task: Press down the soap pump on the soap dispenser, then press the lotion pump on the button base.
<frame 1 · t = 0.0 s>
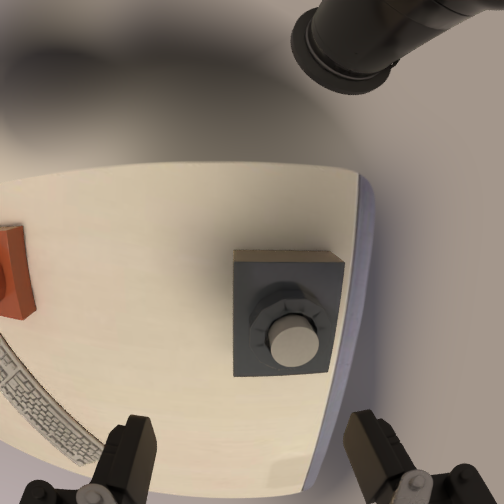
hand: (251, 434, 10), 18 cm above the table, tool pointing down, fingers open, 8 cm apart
soap dispenser: (279, 305, 27), on the table
button base: (2, 267, 24), on the table
soap pump: (292, 340, 21), point 7 cm above the table, slide at 0.1 cm
keyboard: (32, 396, 29), on the table
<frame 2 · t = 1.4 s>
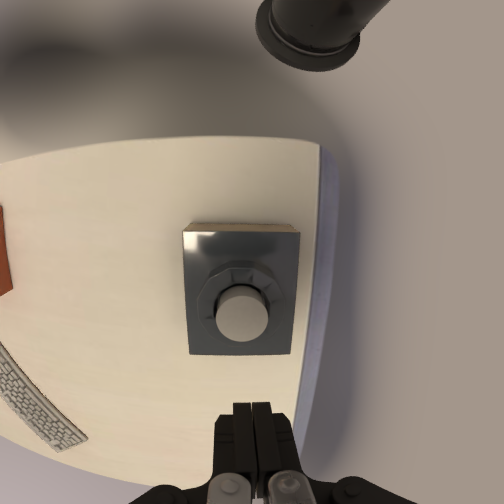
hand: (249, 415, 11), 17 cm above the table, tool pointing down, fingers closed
soap dispenser: (239, 282, 27), on the table
soap pump: (241, 313, 20), point 7 cm above the table, slide at 0.1 cm
keyboard: (11, 379, 29), on the table
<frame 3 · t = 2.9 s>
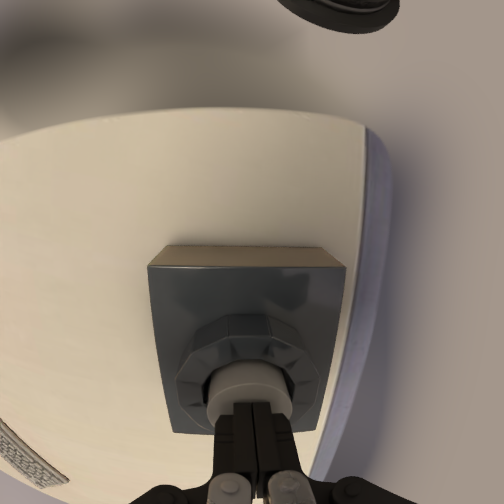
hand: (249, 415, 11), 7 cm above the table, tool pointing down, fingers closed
soap dispenser: (243, 332, 18), on the table
soap pump: (248, 398, 12), point 6 cm above the table, slide at -0.3 cm, touching gripper
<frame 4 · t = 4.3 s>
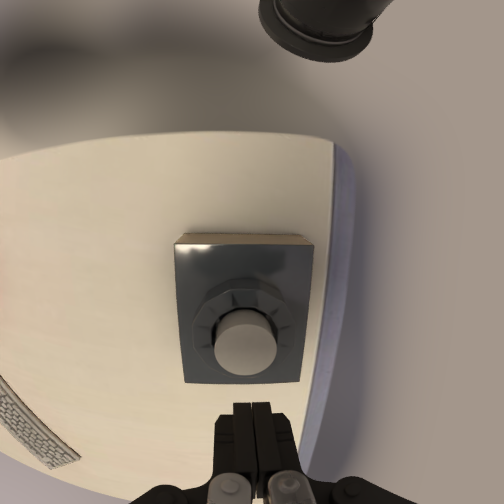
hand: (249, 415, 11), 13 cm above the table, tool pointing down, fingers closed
soap dispenser: (241, 300, 23), on the table
soap pump: (244, 342, 17), point 7 cm above the table, slide at 0.1 cm
keyboard: (0, 394, 25), on the table
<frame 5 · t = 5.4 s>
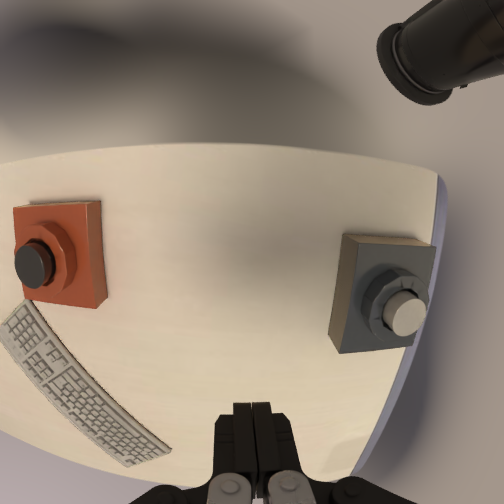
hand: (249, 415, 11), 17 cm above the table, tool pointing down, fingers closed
soap dispenser: (373, 286, 29), on the table
lotion pump: (34, 264, 20), point 6 cm above the table, slide at 0.1 cm
button base: (64, 249, 26), on the table
soap pump: (404, 313, 22), point 7 cm above the table, slide at 0.1 cm
keyboard: (80, 395, 31), on the table
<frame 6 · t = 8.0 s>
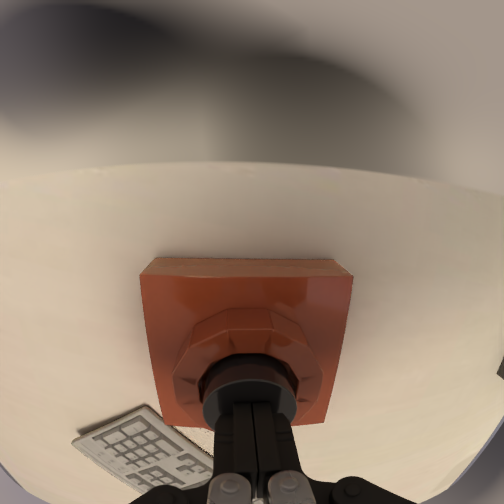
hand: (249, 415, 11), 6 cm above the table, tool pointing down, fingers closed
lotion pump: (248, 399, 12), point 5 cm above the table, slide at -0.1 cm, touching gripper
button base: (244, 338, 17), on the table
keyboard: (213, 493, 22), on the table
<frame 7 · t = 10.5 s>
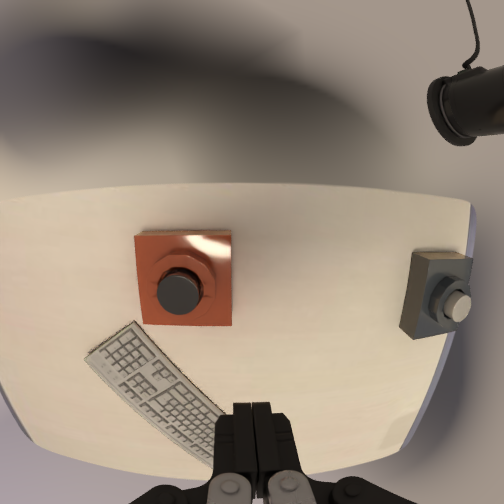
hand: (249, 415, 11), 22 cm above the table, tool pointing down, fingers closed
soap dispenser: (429, 289, 35), on the table
lotion pump: (179, 291, 27), point 6 cm above the table, slide at 0.1 cm
button base: (187, 274, 32), on the table
soap pump: (457, 306, 29), point 7 cm above the table, slide at 0.1 cm
keyboard: (179, 408, 37), on the table
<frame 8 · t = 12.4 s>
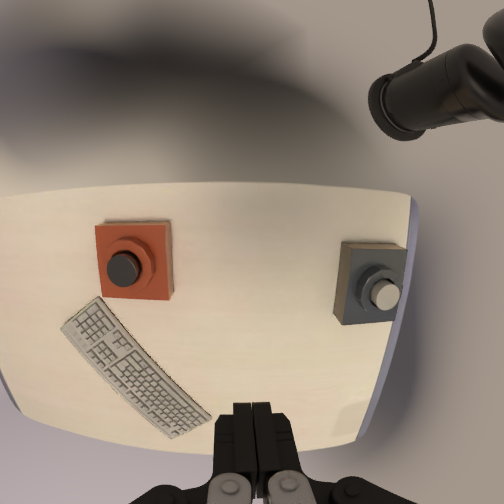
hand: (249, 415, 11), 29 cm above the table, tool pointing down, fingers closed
soap dispenser: (364, 278, 41), on the table
lotion pump: (123, 269, 33), point 6 cm above the table, slide at 0.1 cm
button base: (137, 257, 38), on the table
soap pump: (384, 294, 35), point 7 cm above the table, slide at 0.1 cm
keyboard: (137, 375, 43), on the table
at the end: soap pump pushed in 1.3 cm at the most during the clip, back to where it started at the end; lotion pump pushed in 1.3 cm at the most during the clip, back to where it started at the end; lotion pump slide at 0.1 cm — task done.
